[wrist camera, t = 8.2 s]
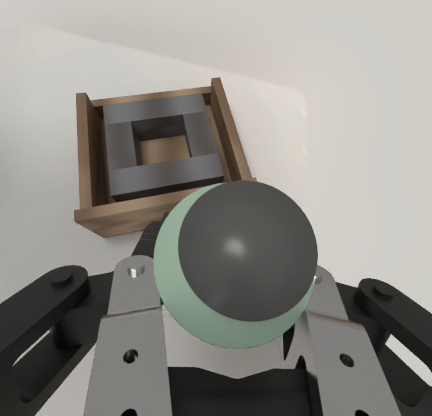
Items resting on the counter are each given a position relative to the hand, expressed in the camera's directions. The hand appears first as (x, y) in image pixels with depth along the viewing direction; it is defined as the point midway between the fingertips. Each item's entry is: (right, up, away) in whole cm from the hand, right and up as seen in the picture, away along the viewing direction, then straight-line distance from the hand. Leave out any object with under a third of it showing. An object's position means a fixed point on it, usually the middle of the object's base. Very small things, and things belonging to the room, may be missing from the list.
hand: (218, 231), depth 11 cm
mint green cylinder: (0, -3, +4) cm, 5 cm away
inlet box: (-6, +7, +16) cm, 19 cm away
